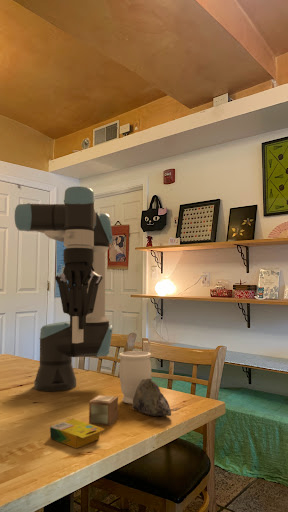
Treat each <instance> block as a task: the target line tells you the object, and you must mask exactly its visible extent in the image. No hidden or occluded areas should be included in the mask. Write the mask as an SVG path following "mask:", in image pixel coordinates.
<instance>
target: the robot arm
mask: <svg viewBox="0 0 288 512" xmlns="http://www.w3.org/2000/svg"><path fill="white" fill-rule="evenodd" d="M94 195H95V194H94V190H93V189H92V188H89V187H86V186H71V187H68V188H66V189H65V191H64V197H63V198H64V199H63V203H54V204H53V203H52V204H51V203H50V204H49V203H47V204H45V203H31V202H30V203H19V204H18V205H16V207H15V209H14V224H15V227H16V229H17V230H19V231H22V232H23V231H24V232H38V233H41V234H44V235H45V236H46V237H47V238H49V239H50V240H54V241H58V242H61V243H63V246H64V250H63V260H62V261H63V263H64V267H63V271H62V273H61V274H60V275H56V276H55V277H54V279H55V281H56V283H57V285H58V290H59V297H60V301H61V306H62V312H63V314H67V315H68V316H69V320H68V321H61V322H60V321H59V322H53V323H50V324H48V323H47V324H45V325H42V327H41V328H40V333H39V365H38V370H37V372H36V376H35V379H34V386H33V387H34V390H37V391H42V392H61V391H68V390H70V389H71V390H72V389H73V388H75V387H76V386H77V378H76V374H75V371H74V368H73V364H72V363H73V358H101V357H107V356H108V355H109V354H110V352H111V350H110V349H111V342H112V335H113V327H114V326H113V325H112V324H110V320H109V319H108V317H106V253H107V251H108V250H109V249H110V245H111V244H113V243H114V240H113V239H114V238H113V232H112V230H113V229H112V225H111V223H112V222H111V218H110V215H109V214H108V213H105V212H97V211H96V210H95V196H94Z"/></svg>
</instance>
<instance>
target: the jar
mask: <svg viewBox="0 0 288 512" xmlns="http://www.w3.org/2000/svg"><path fill="white" fill-rule="evenodd" d="M118 356H119V358H120V361H119V367H118V368H119V370H118V371H119V372H118V375H119V381H120V389H121V393H122V394H123V397H122V399H121V400H122V402H123V403H125V404H130V405H133V398H134V395H135V392H136V389H137V387H138V385H139V384H140V382H141V381H142V379H145V380H146V379H150V378H151V379H152V363H151V360H150V358H151V357H152V353H151V352H149V351H148V352H147V351H143V350H131V351H124V352H123V351H122V352H120V353H119V355H118Z"/></svg>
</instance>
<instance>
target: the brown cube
mask: <svg viewBox="0 0 288 512" xmlns="http://www.w3.org/2000/svg"><path fill="white" fill-rule="evenodd" d="M88 403H89V405H88V411H89V412H88V424H92V425H95V426H103V427H104V426H105V427H111V426H113V424H114V423H115V422H117V420H118V419H119V397H118V396H109V395H99V394H98V395H96V396H95V397H93V398H92V399H90V400H89V401H88Z"/></svg>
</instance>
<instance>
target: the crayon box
mask: <svg viewBox="0 0 288 512" xmlns="http://www.w3.org/2000/svg"><path fill="white" fill-rule="evenodd" d="M49 431H50V432H49V433H50V435H49V436H50V437H49V438H50V439H51V440H53V441H55V442H59V443H61V444H64V445H67V446H69V447H72V448H74V449H78V448H80V447H83V446H85V445H88V444H90V443H92V442H95V441H98V440H100V432H101V433H102V432H103V431H105V428H102V427H101V426H99V425H92V424H89V422H88V423H87V422H86V421H85V422H84V421H81V420H78V419H75V418H71V419H69V420H65V421H62V422H60V423H59V422H58V423H57V424H54V425H51V426H50V427H49Z"/></svg>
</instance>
